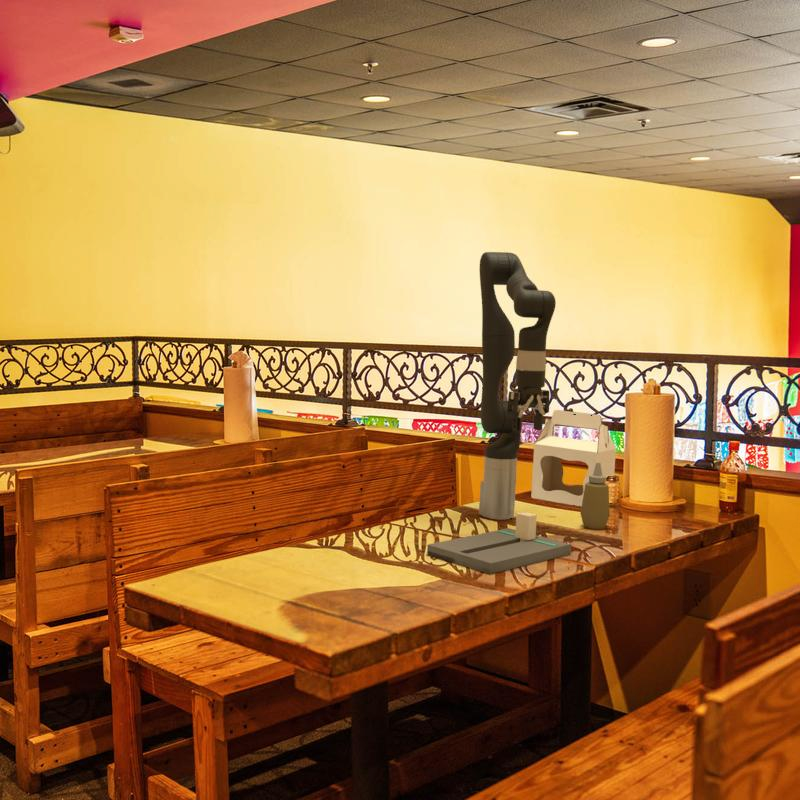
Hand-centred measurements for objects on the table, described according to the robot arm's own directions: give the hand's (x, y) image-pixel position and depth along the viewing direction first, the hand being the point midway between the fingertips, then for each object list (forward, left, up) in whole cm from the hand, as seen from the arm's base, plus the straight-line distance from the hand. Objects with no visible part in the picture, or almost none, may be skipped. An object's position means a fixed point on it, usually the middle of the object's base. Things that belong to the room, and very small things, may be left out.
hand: (527, 430), depth 251 cm
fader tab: (+8, -9, -27) cm, 29 cm away
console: (+8, -18, -28) cm, 34 cm away
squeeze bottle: (+4, +27, -28) cm, 39 cm away
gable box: (-22, +52, -28) cm, 63 cm away
